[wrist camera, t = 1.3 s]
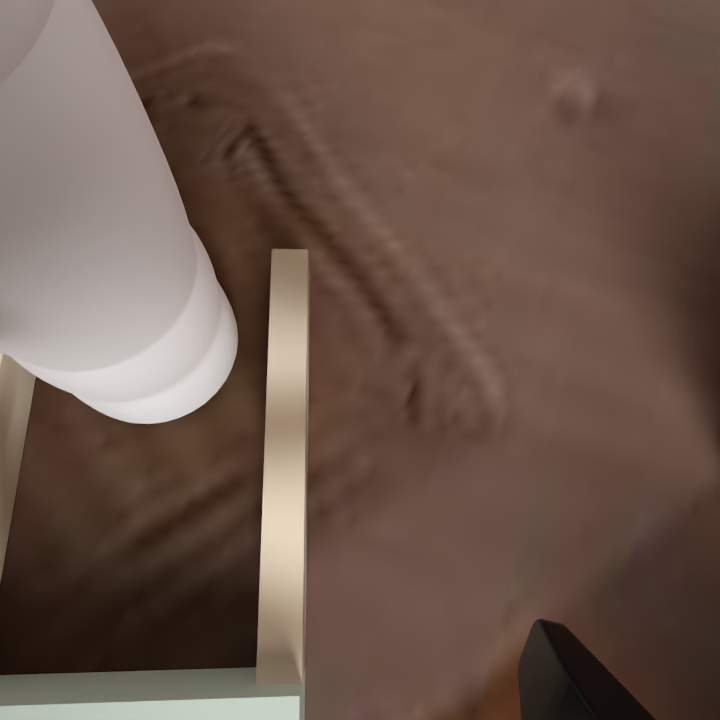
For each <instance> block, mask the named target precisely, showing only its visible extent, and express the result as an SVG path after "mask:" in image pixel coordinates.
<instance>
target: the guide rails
mask: <svg viewBox="0 0 720 720" xmlns="http://www.w3.org/2000/svg"><path fill="white" fill-rule="evenodd" d="M309 319H310V269H309V256H308V249H272V258H271V286H270V313H269V340H268V367H267V395H266V422H265V449H264V476H263V503H262V531H261V558H260V585H259V612H258V640H257V667H256V685H259V684H289V683H302V680H303V675H304V669H305V639H306V559H307V479H308V399H309ZM35 379H36V376H35V375H33V374H32V373H30V372H29V371H28V370H26V369H25V368H23V367H22V366H21V365H20V364H18V363H17V362H16V361H15V360H14V359H13V358H12V357H11V356H8V355H6V354H3V353H1V352H0V583H1V577H2V571H3V565H4V560H5V554H6V548H7V542H8V536H9V531H10V525H11V519H12V513H13V507H14V501H15V496H16V490H17V484H18V478H19V472H20V466H21V461H22V455H23V449H24V443H25V437H26V431H27V426H28V420H29V414H30V408H31V402H32V396H33V391H34V385H35Z"/></svg>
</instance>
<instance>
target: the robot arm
mask: <svg viewBox="0 0 720 720" xmlns="http://www.w3.org/2000/svg"><path fill="white" fill-rule="evenodd" d="M518 683H519V696H520V708H521V720H656V719H655V718H654V717H653V716H652V715H651V714H650V713H649V712H648V711H647V710H646V709H645V708H644V707H643V706H642V705H641V704H640V703H639V702H638V701H637V700H636V699H635V698H634V697H633V696H632V695H631V693H630V692H629V691H628V690H627V689H626V688H625V687H624V686H623V685H622V684H621V683H620V682H619V681H618V680H617V679H616V678H615V677H614V676H613V675H612V674H611V673H610V672H609V671H608V670H607V669H606V668H605V666H604V665H603V664H602V663H601V662H600V661H599V660H598V659H597V658H596V657H595V656H594V655H593V654H592V653H591V652H590V651H589V650H588V649H587V648H586V647H585V646H584V645H583V644H582V643H581V642H580V641H579V639H578V638H577V637H576V636H575V635H574V634H573V633H572V632H571V631H570V630H569V629H568V628H567V627H566V626H565V625H563V624H561V623H557V622H553V621H549V620H545V619H538V620H536V621H535V622H534V624H533V626H532V628H531V631H530V634H529V636H528V639H527V641H526V644H525V647H524V649H523V652H522V655H521V657H520V660H519V666H518Z"/></svg>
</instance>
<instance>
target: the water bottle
mask: <svg viewBox="0 0 720 720" xmlns="http://www.w3.org/2000/svg"><path fill="white" fill-rule="evenodd" d="M237 346H238V330H237V324H236V320H235V316H234V313H233V310H232V308H231V305H230V303H229V301H228V299H227V297H226V295H225V293H224V291H223V289H222V288H221V286H220V284H219V283H218V281H217V280H216V276H215V272H214V269H213V266H212V263H211V261H210V258H209V256H208V254H207V252H206V250H205V248H204V246H203V244H202V242H201V240H200V239H199V237H198V235H197V234H196V232H195V231H194V230H193V228H192V227H191V226H190V224H189V221H188V218H187V215H186V211H185V208H184V205H183V202H182V199H181V197H180V194H179V191H178V188H177V185H176V183H175V180H174V178H173V175H172V172H171V170H170V167H169V165H168V162H167V160H166V157H165V155H164V153H163V150H162V148H161V146H160V143H159V141H158V138H157V136H156V134H155V131H154V129H153V127H152V124H151V122H150V120H149V118H148V115H147V113H146V111H145V109H144V106H143V104H142V102H141V100H140V97H139V95H138V93H137V91H136V89H135V87H134V85H133V82H132V80H131V78H130V76H129V74H128V72H127V70H126V68H125V65H124V63H123V61H122V59H121V57H120V55H119V53H118V51H117V49H116V47H115V45H114V43H113V41H112V39H111V37H110V35H109V33H108V31H107V29H106V27H105V25H104V23H103V21H102V19H101V17H100V15H99V13H98V12H97V10H96V8H95V6H94V4H93V2H92V0H0V352H1V353H3V354H6V355H8V356H11V357H12V358H13V359H14V360H15V361H16V362H17V363H18V364H20V365H21V366H22V367H23V368H25V369H26V370H28V371H29V372H30V373H32V374H33V375H35V376H37V377H38V378H40V379H42V380H43V381H45V382H47V383H49V384H51V385H53V386H55V387H57V388H59V389H62V390H64V391H67V392H70V393H72V394H73V395H75V396H76V397H77V398H78V399H80V400H81V401H83V402H84V403H86V404H87V405H89V406H90V407H92V408H94V409H96V410H97V411H99V412H101V413H103V414H105V415H107V416H110V417H112V418H115V419H118V420H121V421H125V422H130V423H139V424H153V423H161V422H167V421H170V420H174V419H177V418H180V417H182V416H184V415H187V414H189V413H191V412H193V411H194V410H196V409H197V408H199V407H200V406H202V405H203V404H205V403H206V402H207V401H208V400H209V399H210V398H211V397H212V396H214V395H215V394H216V393H217V391H218V390H219V389H220V388H221V386H222V385H223V384H224V382H225V381H226V379H227V377H228V375H229V373H230V371H231V369H232V367H233V364H234V361H235V358H236V354H237Z"/></svg>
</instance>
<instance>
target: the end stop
mask: <svg viewBox="0 0 720 720" xmlns="http://www.w3.org/2000/svg"><path fill="white" fill-rule="evenodd" d="M0 720H305V669H304V675H303V680H302V683H289V684H259V685H256V667H251V668H219V669H186V670H154V671H121V672H89V673H57V674H24V675H0Z"/></svg>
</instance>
